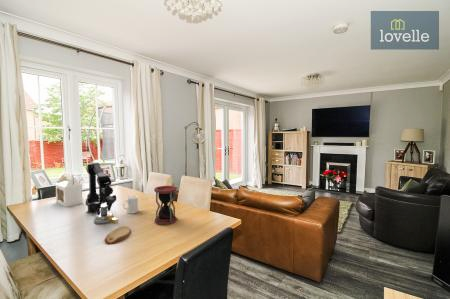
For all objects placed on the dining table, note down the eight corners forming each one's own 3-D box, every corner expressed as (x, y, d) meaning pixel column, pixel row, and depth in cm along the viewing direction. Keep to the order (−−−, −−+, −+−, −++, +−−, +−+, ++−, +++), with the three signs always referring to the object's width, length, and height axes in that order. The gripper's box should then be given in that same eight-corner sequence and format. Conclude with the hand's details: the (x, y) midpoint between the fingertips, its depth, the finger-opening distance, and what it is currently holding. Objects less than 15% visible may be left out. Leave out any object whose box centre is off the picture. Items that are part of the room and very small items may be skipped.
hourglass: (169, 215, 174) (169, 184, 172) (180, 221, 162) (181, 188, 160) (150, 220, 162) (150, 187, 161) (161, 227, 151) (161, 192, 149)
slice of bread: (126, 227, 150) (126, 222, 150) (138, 236, 138) (138, 230, 137) (97, 236, 137) (97, 230, 137) (107, 246, 125) (107, 240, 125)
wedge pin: (99, 218, 159) (99, 206, 158) (104, 216, 163) (103, 204, 162) (104, 219, 158) (103, 207, 157) (108, 217, 162) (108, 205, 161)
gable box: (82, 203, 199) (81, 173, 197) (65, 207, 188) (64, 175, 186) (72, 198, 212) (71, 170, 210) (56, 202, 201) (55, 172, 199)
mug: (124, 215, 172) (124, 200, 171) (121, 212, 178) (121, 197, 178) (139, 212, 180) (139, 197, 179) (136, 209, 186) (136, 195, 185)
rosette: (89, 222, 156) (89, 216, 156) (104, 216, 168) (104, 210, 168) (109, 226, 151) (109, 219, 151) (122, 219, 164) (122, 213, 163)
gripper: (102, 196, 148) (102, 219, 149) (122, 190, 166) (122, 210, 167) (89, 195, 151) (89, 217, 152) (110, 189, 169) (110, 208, 170)
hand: (104, 213), depth 160 cm, fingers open, 9 cm apart
